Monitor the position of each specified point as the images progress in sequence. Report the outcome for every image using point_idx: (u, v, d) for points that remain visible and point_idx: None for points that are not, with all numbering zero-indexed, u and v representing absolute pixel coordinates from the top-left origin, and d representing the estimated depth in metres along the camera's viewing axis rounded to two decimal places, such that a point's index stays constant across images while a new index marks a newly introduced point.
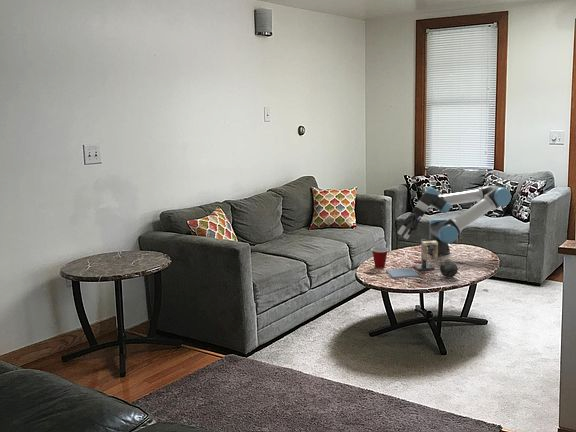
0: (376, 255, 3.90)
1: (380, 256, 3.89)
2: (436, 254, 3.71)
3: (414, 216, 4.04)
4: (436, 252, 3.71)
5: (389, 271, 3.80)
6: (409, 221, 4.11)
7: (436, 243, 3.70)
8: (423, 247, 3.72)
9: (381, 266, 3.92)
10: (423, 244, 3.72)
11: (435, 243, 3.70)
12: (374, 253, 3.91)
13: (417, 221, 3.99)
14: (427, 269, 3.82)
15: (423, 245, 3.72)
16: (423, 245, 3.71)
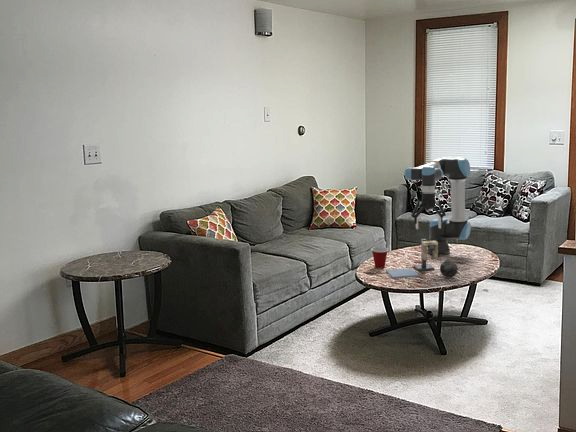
0: (376, 255, 3.90)
1: (380, 256, 3.89)
2: (436, 254, 3.71)
3: None
4: (436, 252, 3.71)
5: (389, 271, 3.80)
6: None
7: (436, 243, 3.70)
8: (423, 247, 3.72)
9: (381, 266, 3.92)
10: (423, 244, 3.72)
11: (435, 243, 3.70)
12: (374, 253, 3.91)
13: None
14: (427, 269, 3.82)
15: (423, 245, 3.72)
16: (423, 245, 3.71)
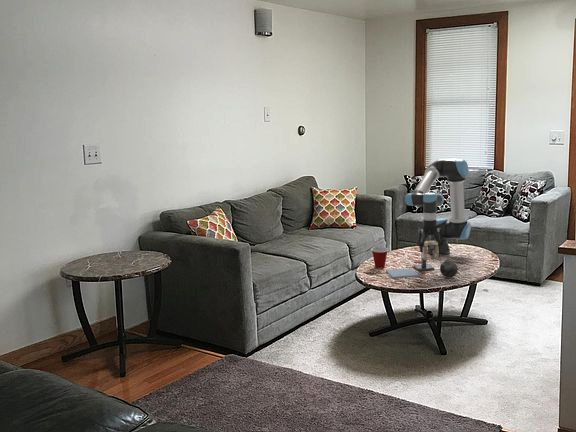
0: (376, 255, 3.90)
1: (380, 256, 3.89)
2: (436, 254, 3.71)
3: (433, 230, 3.70)
4: (436, 252, 3.71)
5: (389, 271, 3.80)
6: None
7: (436, 243, 3.70)
8: None
9: (381, 266, 3.92)
10: None
11: (435, 243, 3.70)
12: (374, 253, 3.91)
13: None
14: (427, 269, 3.82)
15: (423, 245, 3.72)
16: (423, 245, 3.71)
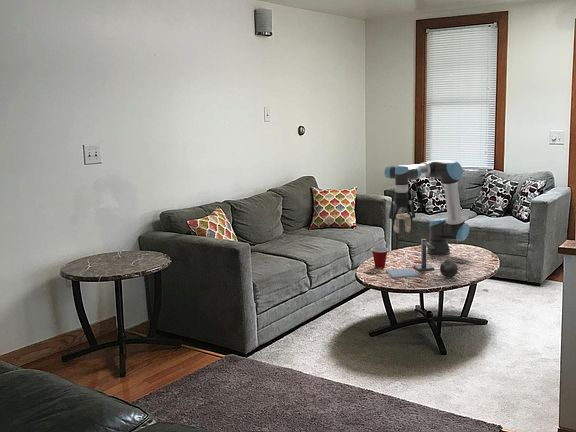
0: (376, 255, 3.90)
1: (380, 256, 3.89)
2: (408, 227, 3.70)
3: None
4: (408, 225, 3.69)
5: (389, 271, 3.80)
6: None
7: (408, 216, 3.68)
8: None
9: (381, 266, 3.92)
10: (395, 217, 3.70)
11: (407, 216, 3.68)
12: (374, 253, 3.91)
13: None
14: (427, 269, 3.82)
15: (395, 218, 3.70)
16: (395, 217, 3.69)
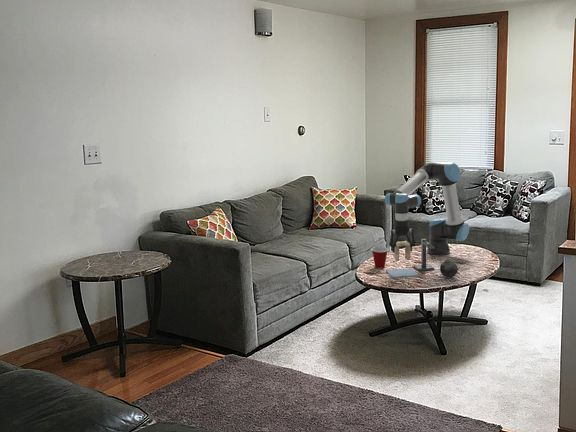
0: (376, 255, 3.90)
1: (380, 256, 3.89)
2: (408, 254, 3.72)
3: None
4: (408, 252, 3.72)
5: (389, 271, 3.80)
6: None
7: (408, 243, 3.71)
8: None
9: (381, 266, 3.92)
10: None
11: (407, 243, 3.71)
12: (374, 253, 3.91)
13: None
14: (427, 269, 3.82)
15: (395, 245, 3.73)
16: (395, 245, 3.72)
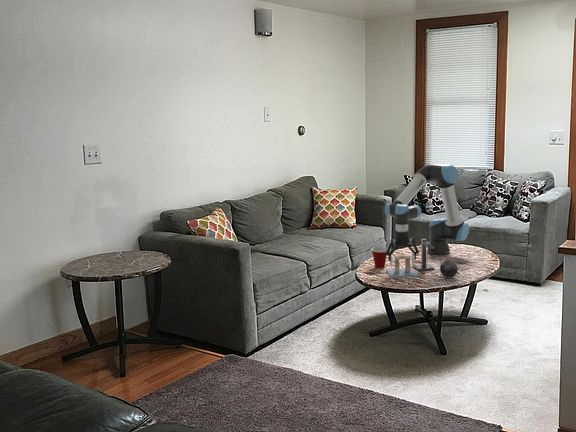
0: (376, 255, 3.90)
1: (380, 256, 3.89)
2: (408, 268, 3.74)
3: (405, 241, 3.72)
4: (408, 266, 3.74)
5: (389, 271, 3.80)
6: None
7: (408, 257, 3.73)
8: (395, 261, 3.75)
9: (381, 266, 3.92)
10: (395, 258, 3.75)
11: (407, 257, 3.73)
12: (374, 253, 3.91)
13: (414, 243, 3.74)
14: (427, 269, 3.82)
15: (395, 259, 3.75)
16: (396, 258, 3.74)
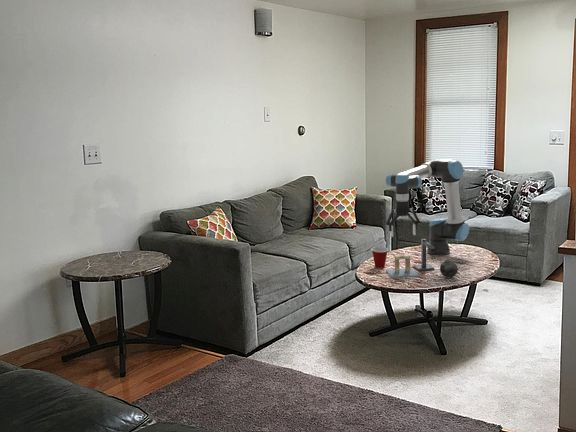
0: (376, 255, 3.90)
1: (380, 256, 3.89)
2: (408, 268, 3.74)
3: (406, 210, 3.71)
4: (408, 266, 3.74)
5: (389, 271, 3.80)
6: None
7: (408, 257, 3.73)
8: (395, 261, 3.75)
9: (381, 266, 3.92)
10: (395, 258, 3.75)
11: (407, 257, 3.73)
12: (374, 253, 3.91)
13: None
14: (427, 269, 3.82)
15: (395, 259, 3.75)
16: (396, 258, 3.74)
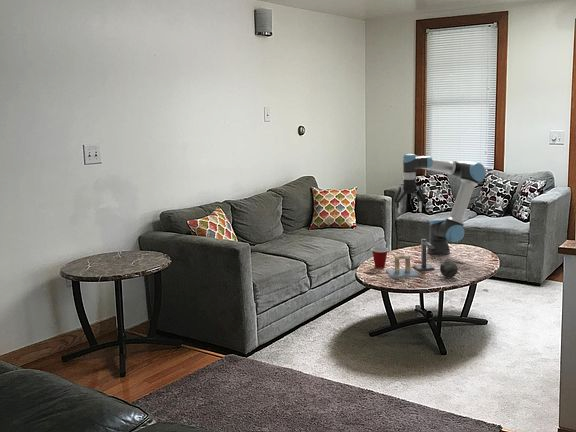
0: (376, 255, 3.90)
1: (380, 256, 3.89)
2: (408, 268, 3.74)
3: (413, 188, 3.93)
4: (408, 266, 3.74)
5: (389, 271, 3.80)
6: None
7: (408, 257, 3.73)
8: (395, 261, 3.75)
9: (381, 266, 3.92)
10: (395, 258, 3.75)
11: (407, 257, 3.73)
12: (374, 253, 3.91)
13: None
14: (427, 269, 3.82)
15: (395, 259, 3.75)
16: (396, 258, 3.74)
